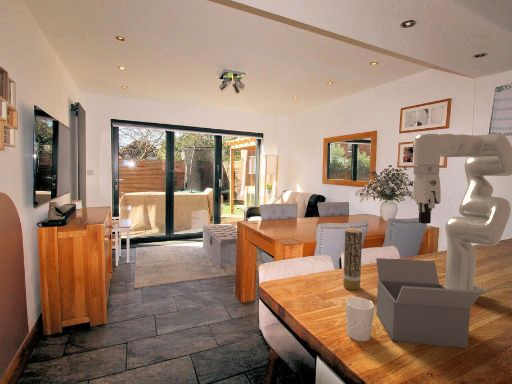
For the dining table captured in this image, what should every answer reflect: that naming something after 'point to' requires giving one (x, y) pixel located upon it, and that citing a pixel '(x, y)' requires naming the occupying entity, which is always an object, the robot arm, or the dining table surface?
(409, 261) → the flap
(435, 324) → the carton
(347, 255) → the paper tube
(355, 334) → the white cup
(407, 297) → the flap
